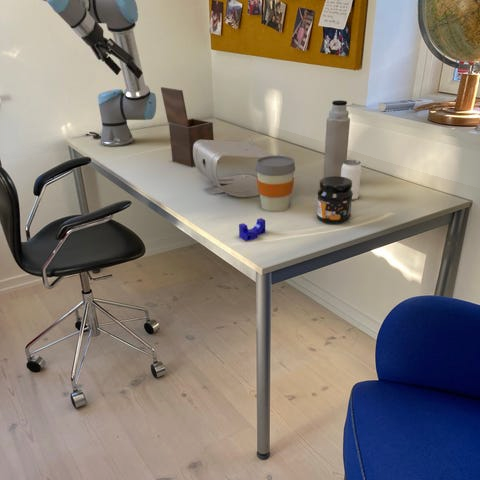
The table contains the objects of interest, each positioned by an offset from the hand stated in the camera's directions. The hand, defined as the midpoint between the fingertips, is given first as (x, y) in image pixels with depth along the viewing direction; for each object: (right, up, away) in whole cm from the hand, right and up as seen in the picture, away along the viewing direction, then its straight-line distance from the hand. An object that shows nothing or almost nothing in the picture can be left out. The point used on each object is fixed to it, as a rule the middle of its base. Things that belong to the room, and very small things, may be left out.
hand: (129, 73), depth 193 cm
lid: (+16, -7, +12) cm, 21 cm away
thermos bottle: (+76, -41, -1) cm, 86 cm away
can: (+78, -50, -15) cm, 94 cm away
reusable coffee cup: (+53, -54, -21) cm, 78 cm away
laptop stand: (+40, -43, -3) cm, 59 cm away
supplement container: (+70, -60, -31) cm, 98 cm away
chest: (+21, -24, +28) cm, 42 cm away
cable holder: (+45, -67, -41) cm, 91 cm away
